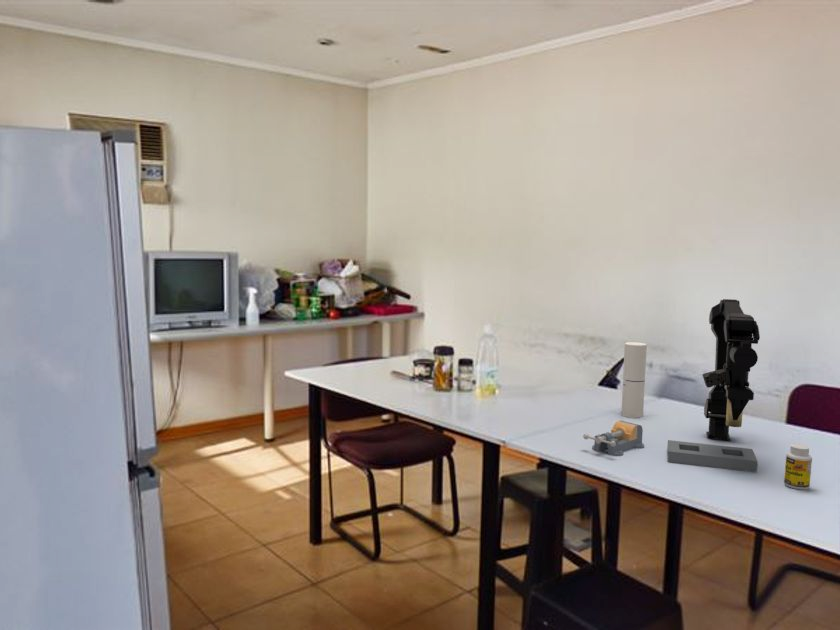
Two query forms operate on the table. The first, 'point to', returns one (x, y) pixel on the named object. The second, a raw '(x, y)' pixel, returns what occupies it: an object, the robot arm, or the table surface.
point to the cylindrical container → (634, 379)
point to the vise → (619, 438)
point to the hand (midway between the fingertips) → (733, 417)
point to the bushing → (729, 418)
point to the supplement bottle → (798, 467)
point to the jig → (712, 455)
